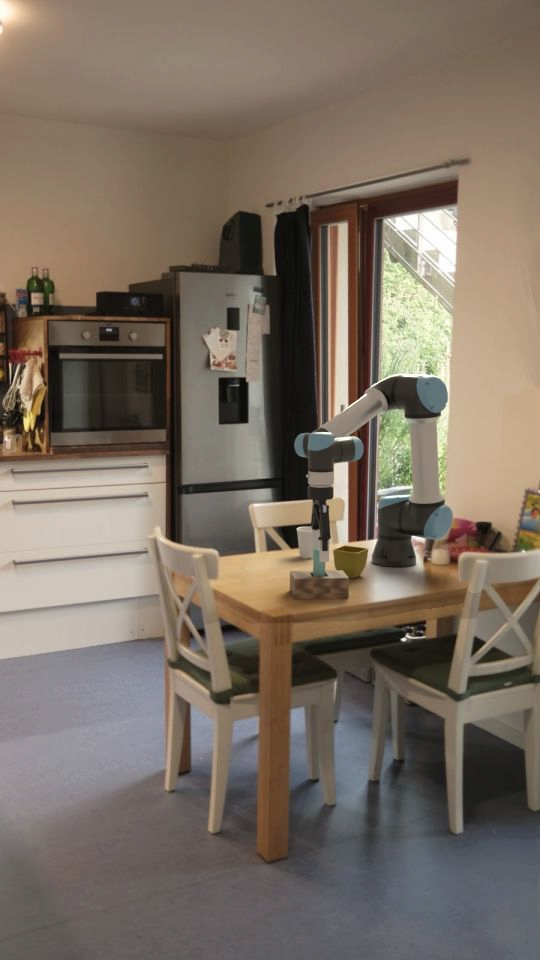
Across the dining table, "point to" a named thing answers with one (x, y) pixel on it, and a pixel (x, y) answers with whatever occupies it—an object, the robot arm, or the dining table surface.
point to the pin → (318, 565)
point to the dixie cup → (305, 541)
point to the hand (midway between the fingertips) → (320, 556)
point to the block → (319, 585)
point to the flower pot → (350, 560)
